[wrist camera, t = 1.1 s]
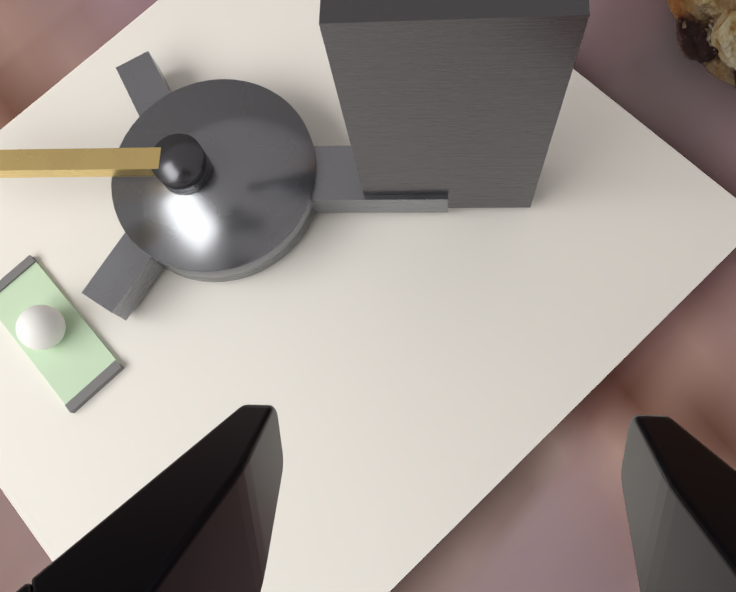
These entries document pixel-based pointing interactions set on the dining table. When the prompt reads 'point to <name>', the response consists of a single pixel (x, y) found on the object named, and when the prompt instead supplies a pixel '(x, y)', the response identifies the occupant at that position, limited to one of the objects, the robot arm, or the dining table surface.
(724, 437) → the dining table surface
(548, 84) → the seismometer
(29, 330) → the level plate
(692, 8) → the mottled green brown ball
